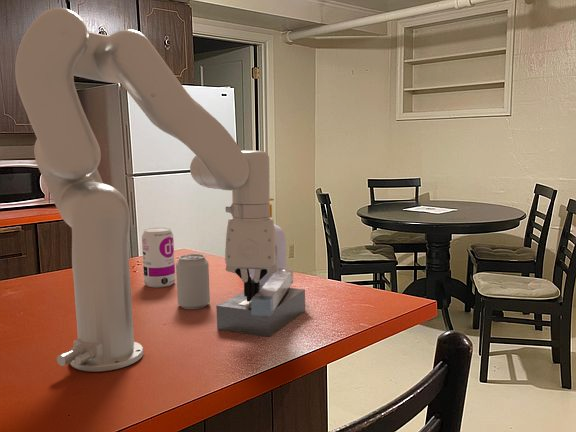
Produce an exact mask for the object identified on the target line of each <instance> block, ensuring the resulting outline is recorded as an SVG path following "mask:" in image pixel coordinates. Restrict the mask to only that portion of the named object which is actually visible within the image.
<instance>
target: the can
mask: <svg viewBox="0 0 576 432" xmlns="http://www.w3.org/2000/svg"><path fill="white" fill-rule="evenodd" d="M209 265H210V263H209V261H208V260H207V259H206V255H205V254H202V253H190V254H189V253H188V254H187V253H186V254H183V255H180V256H179V257H178V260H177V262H176V263H175V277H176V292H177V294H176V295H177V305H179V306H180V307H181V308H182V309H184V310H198V309H203V308H205V307H207V305H208V304H209V303H210V301H211V298H210V293H211V292H210V272H209V270H210V269H209V267H210V266H209Z"/></svg>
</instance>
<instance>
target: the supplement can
mask: <svg viewBox="0 0 576 432" xmlns="http://www.w3.org/2000/svg"><path fill="white" fill-rule="evenodd" d="M141 244H142V245H141V246H142V247H141V248H142V263H143V283H144V284H145V285H146V287H149V288H155V289H157V288H165V287H169V286H172V285H174V283H175V282H176V263H175V246H174V245H175V243H174V233H173V231H172V230H171V228H170V227H169V228H168V227H152V228H151V227H149V228H147V229H144V230H143V233H142V235H141Z"/></svg>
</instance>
